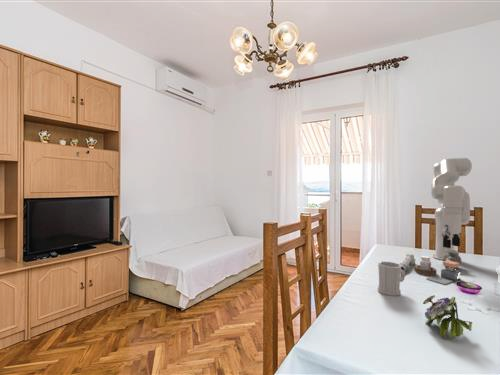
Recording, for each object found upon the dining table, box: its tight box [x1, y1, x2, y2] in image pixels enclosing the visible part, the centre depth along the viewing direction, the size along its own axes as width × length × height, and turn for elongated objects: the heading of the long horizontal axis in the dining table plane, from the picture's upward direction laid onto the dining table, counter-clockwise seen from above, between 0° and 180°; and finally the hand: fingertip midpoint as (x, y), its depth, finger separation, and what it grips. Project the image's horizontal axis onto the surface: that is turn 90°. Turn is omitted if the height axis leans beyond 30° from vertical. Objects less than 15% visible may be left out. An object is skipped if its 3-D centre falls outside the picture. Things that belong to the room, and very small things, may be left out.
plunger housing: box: [440, 268, 459, 283], centre depth 135 cm, size 6×6×4 cm
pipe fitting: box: [443, 249, 462, 270], centre depth 151 cm, size 12×8×10 cm
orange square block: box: [442, 260, 461, 272], centre depth 135 cm, size 5×5×5 cm
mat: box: [426, 275, 455, 286], centre depth 132 cm, size 8×8×1 cm
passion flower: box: [422, 295, 473, 340], centre depth 87 cm, size 13×12×14 cm
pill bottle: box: [419, 255, 432, 270], centre depth 144 cm, size 5×5×8 cm
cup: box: [377, 261, 406, 297], centre depth 118 cm, size 10×9×12 cm
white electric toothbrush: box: [398, 252, 416, 273], centre depth 153 cm, size 5×7×25 cm
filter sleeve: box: [414, 264, 437, 277], centre depth 144 cm, size 9×9×2 cm
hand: (451, 246), depth 135 cm, fingers open, 7 cm apart
